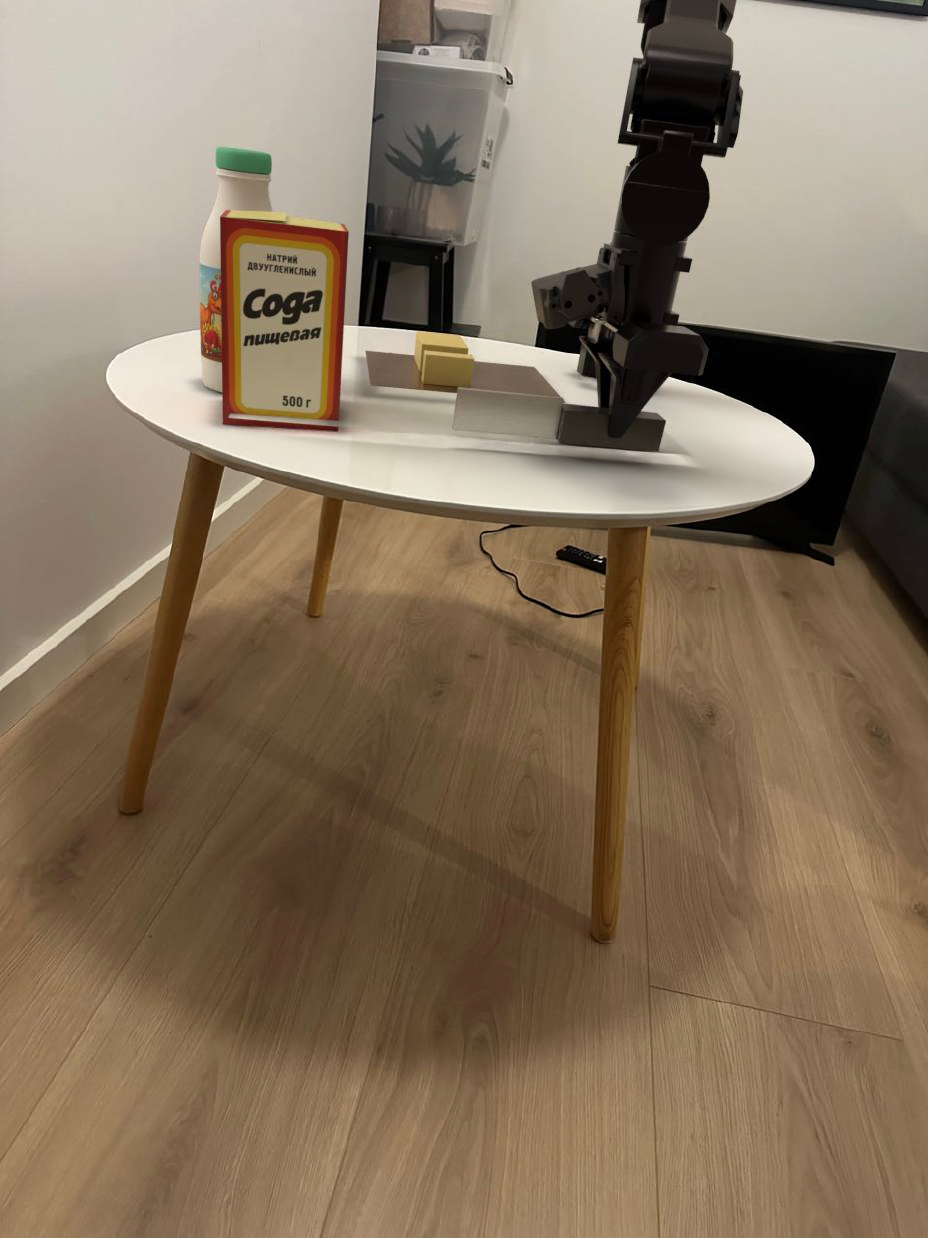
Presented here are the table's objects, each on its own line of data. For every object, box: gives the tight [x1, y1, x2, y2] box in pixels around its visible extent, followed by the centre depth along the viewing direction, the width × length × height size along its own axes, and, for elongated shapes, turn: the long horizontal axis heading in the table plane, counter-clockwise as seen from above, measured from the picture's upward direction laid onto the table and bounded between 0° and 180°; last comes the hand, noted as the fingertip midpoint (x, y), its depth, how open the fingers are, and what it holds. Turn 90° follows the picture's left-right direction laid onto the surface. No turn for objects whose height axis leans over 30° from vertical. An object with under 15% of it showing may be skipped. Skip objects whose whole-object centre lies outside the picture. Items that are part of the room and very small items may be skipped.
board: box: [365, 350, 567, 404], centre depth 93 cm, size 20×16×1 cm
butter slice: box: [422, 350, 476, 388], centre depth 87 cm, size 5×2×3 cm, turn 97°
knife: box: [452, 387, 667, 453], centre depth 73 cm, size 18×2×4 cm, turn 98°
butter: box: [413, 330, 469, 372], centre depth 94 cm, size 5×7×3 cm
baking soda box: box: [220, 210, 350, 433], centre depth 71 cm, size 10×6×16 cm
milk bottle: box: [198, 146, 274, 393], centre depth 77 cm, size 8×8×20 cm
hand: (609, 432), depth 74 cm, fingers closed on knife, 2 cm apart
